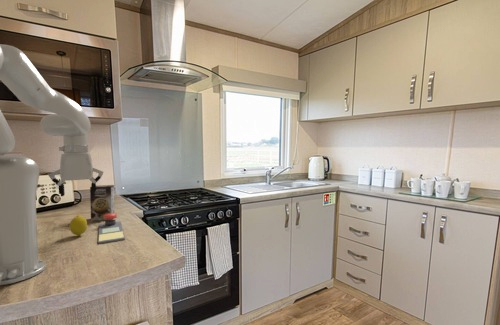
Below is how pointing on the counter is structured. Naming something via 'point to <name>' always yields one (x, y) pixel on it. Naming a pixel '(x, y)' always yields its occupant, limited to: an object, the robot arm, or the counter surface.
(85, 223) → the lemon
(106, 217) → the button
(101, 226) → the board
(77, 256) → the counter surface
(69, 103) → the robot arm
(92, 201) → the coffee box
